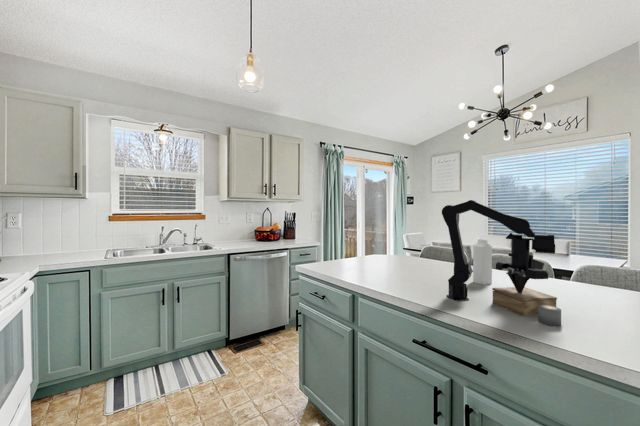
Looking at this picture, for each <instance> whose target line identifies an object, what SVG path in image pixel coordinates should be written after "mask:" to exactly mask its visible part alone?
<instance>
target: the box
mask: <svg viewBox="0 0 640 426" xmlns="http://www.w3.org/2000/svg"><path fill="white" fill-rule="evenodd" d="M492 304H494V305H496V306H497V307H500V308H503V309H505V310H507V311H510V312H512V313H514V314H516V315H519V316H521V317H523V316H538V306H539V305H548V306H554V307H557V300H537V301H520V300H518V299H515V298H513V297H510V296H507V295H505V294H502V293H499V292H497V291H494V290H492Z"/></svg>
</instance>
